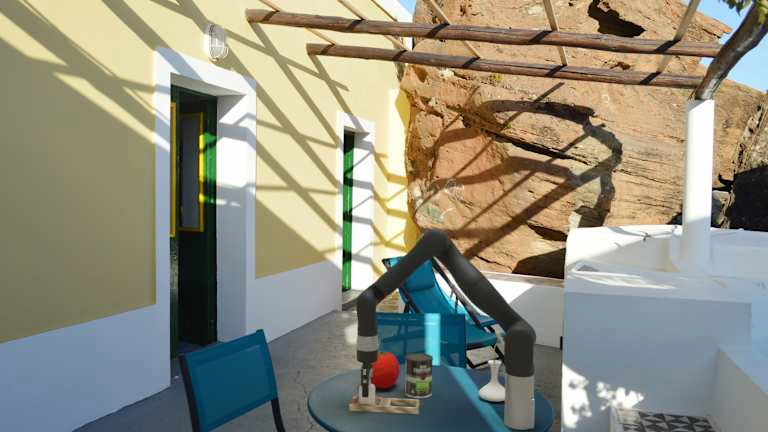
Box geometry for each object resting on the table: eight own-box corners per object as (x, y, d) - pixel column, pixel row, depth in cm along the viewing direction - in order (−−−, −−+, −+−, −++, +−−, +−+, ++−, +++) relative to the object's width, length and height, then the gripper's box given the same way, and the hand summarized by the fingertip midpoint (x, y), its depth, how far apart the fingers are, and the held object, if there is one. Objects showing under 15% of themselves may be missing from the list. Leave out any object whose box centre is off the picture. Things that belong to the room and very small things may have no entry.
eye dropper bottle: (372, 410, 211) (373, 376, 210) (357, 408, 213) (357, 374, 212) (376, 405, 215) (376, 372, 215) (361, 404, 217) (361, 371, 216)
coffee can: (436, 397, 225) (436, 359, 224) (409, 399, 222) (410, 361, 221) (426, 388, 235) (427, 352, 234) (401, 390, 232) (401, 353, 231)
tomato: (390, 379, 244) (391, 345, 243) (406, 390, 232) (406, 354, 231) (354, 384, 238) (355, 350, 237) (368, 396, 225) (368, 359, 224)
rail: (419, 405, 216) (419, 398, 216) (418, 414, 208) (418, 407, 208) (353, 401, 219) (353, 395, 219) (349, 410, 210) (349, 404, 210)
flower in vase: (507, 406, 216) (509, 336, 215) (475, 402, 220) (477, 333, 219) (512, 394, 229) (513, 328, 227) (481, 390, 232) (483, 325, 231)
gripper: (375, 353, 205) (375, 400, 206) (380, 342, 220) (379, 386, 220) (353, 352, 206) (353, 399, 207) (359, 341, 220) (359, 385, 221)
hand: (366, 392), depth 214 cm, fingers open, 8 cm apart
